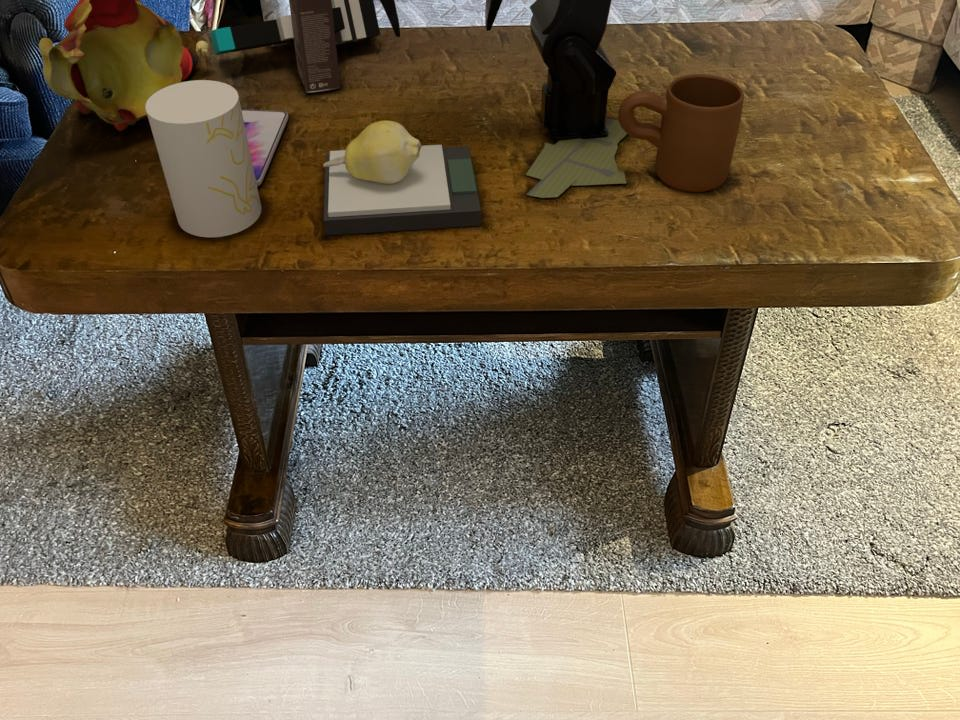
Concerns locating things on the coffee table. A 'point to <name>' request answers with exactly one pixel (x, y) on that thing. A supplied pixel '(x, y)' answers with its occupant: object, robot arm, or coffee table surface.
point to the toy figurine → (192, 58)
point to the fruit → (380, 153)
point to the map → (578, 163)
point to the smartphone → (263, 137)
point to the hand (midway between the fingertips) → (443, 32)
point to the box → (315, 44)
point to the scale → (404, 195)
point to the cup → (205, 157)
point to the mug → (689, 129)
